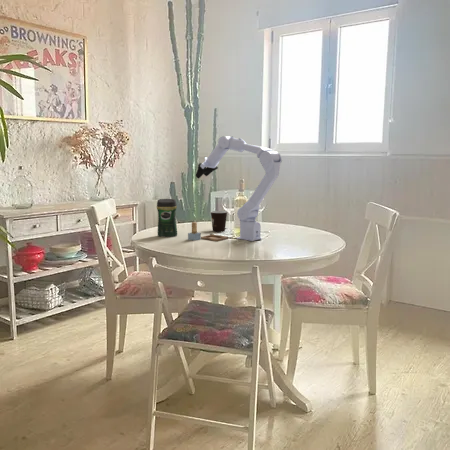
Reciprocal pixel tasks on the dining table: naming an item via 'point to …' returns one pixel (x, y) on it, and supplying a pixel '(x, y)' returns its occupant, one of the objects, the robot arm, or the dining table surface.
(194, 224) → the dowel
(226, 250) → the dining table surface
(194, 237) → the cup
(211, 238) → the tray
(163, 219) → the coffee jar
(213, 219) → the coffee mug
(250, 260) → the dining table surface
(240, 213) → the robot arm
